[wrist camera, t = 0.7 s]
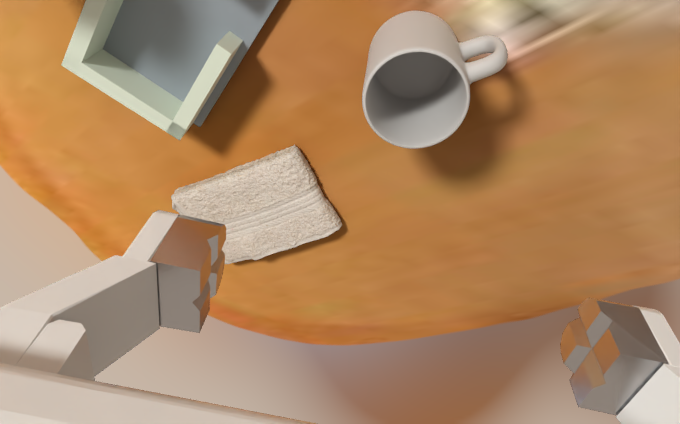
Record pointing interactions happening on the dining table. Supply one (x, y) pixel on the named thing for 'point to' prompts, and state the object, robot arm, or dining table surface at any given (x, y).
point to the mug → (423, 78)
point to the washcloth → (262, 205)
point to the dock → (164, 53)
